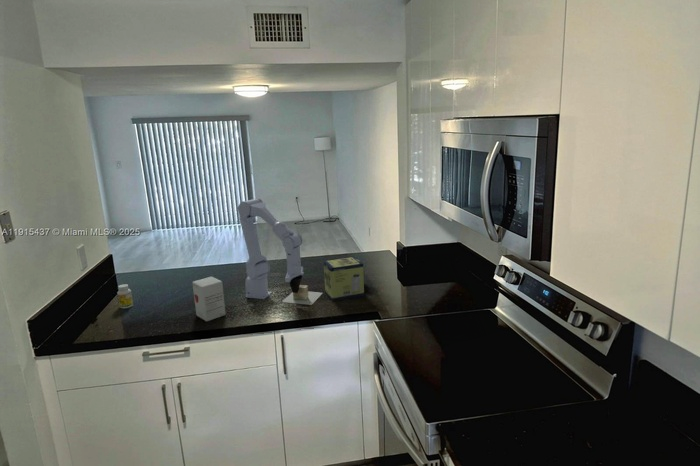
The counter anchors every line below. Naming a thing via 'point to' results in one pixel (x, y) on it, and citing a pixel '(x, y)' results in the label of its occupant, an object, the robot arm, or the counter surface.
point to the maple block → (301, 293)
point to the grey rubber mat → (312, 298)
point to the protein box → (344, 278)
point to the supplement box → (209, 298)
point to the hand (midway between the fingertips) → (295, 292)
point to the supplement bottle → (124, 296)
